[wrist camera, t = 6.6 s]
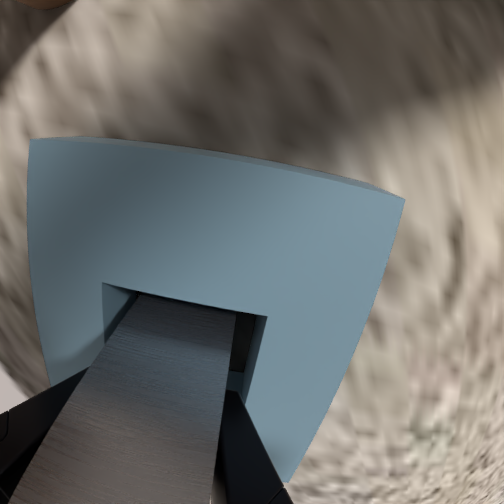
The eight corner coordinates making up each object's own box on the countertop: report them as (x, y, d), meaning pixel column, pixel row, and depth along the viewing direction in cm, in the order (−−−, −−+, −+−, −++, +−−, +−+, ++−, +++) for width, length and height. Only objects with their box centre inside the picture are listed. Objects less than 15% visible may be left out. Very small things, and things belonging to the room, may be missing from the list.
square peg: (237, 308, 10) (198, 583, 2) (223, 379, 11) (191, 599, 3) (143, 290, 10) (3, 512, 2) (142, 361, 11) (57, 558, 3)
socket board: (368, 183, 10) (405, 199, 7) (285, 433, 14) (288, 482, 11) (81, 136, 10) (30, 139, 7) (89, 392, 14) (65, 433, 11)
